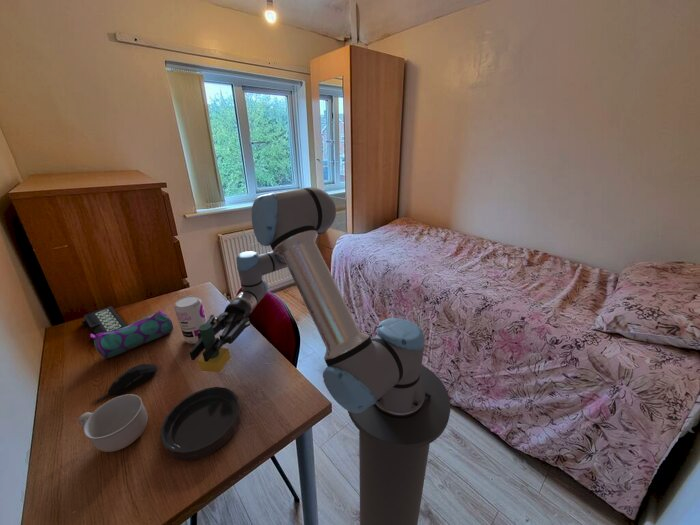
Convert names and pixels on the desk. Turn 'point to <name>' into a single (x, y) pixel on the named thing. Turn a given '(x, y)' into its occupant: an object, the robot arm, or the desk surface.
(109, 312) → the digital display
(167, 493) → the desk surface
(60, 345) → the desk surface
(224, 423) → the bowl
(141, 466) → the desk surface
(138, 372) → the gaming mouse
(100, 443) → the teacup
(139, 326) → the pencil case
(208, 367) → the green peg on stand
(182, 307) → the supplement can
